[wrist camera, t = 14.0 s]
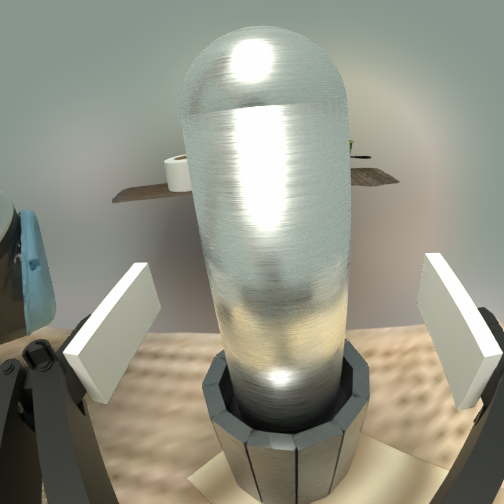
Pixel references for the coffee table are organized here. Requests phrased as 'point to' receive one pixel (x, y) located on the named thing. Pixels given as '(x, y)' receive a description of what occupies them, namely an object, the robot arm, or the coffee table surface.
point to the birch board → (345, 479)
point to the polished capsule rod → (273, 218)
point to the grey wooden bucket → (289, 439)
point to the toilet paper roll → (178, 174)
